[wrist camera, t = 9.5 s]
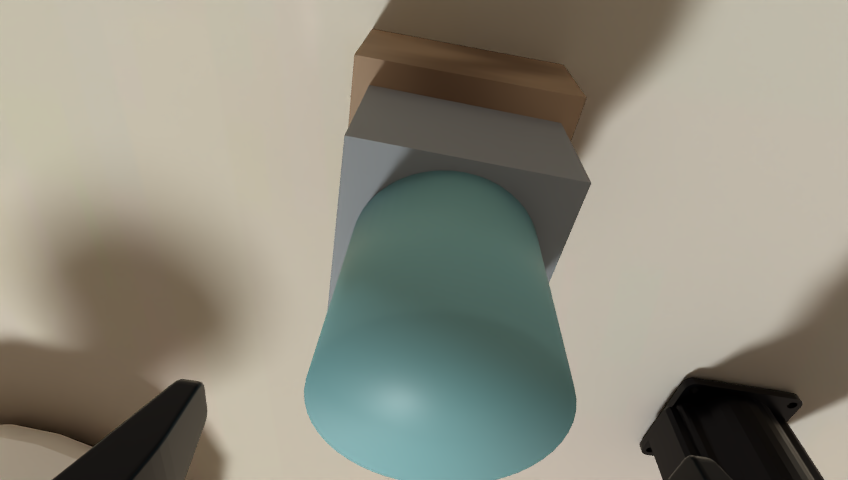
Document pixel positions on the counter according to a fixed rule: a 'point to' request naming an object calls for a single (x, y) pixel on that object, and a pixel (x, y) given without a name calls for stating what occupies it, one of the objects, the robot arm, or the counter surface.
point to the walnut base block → (466, 77)
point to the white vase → (35, 453)
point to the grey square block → (459, 161)
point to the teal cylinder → (442, 337)
